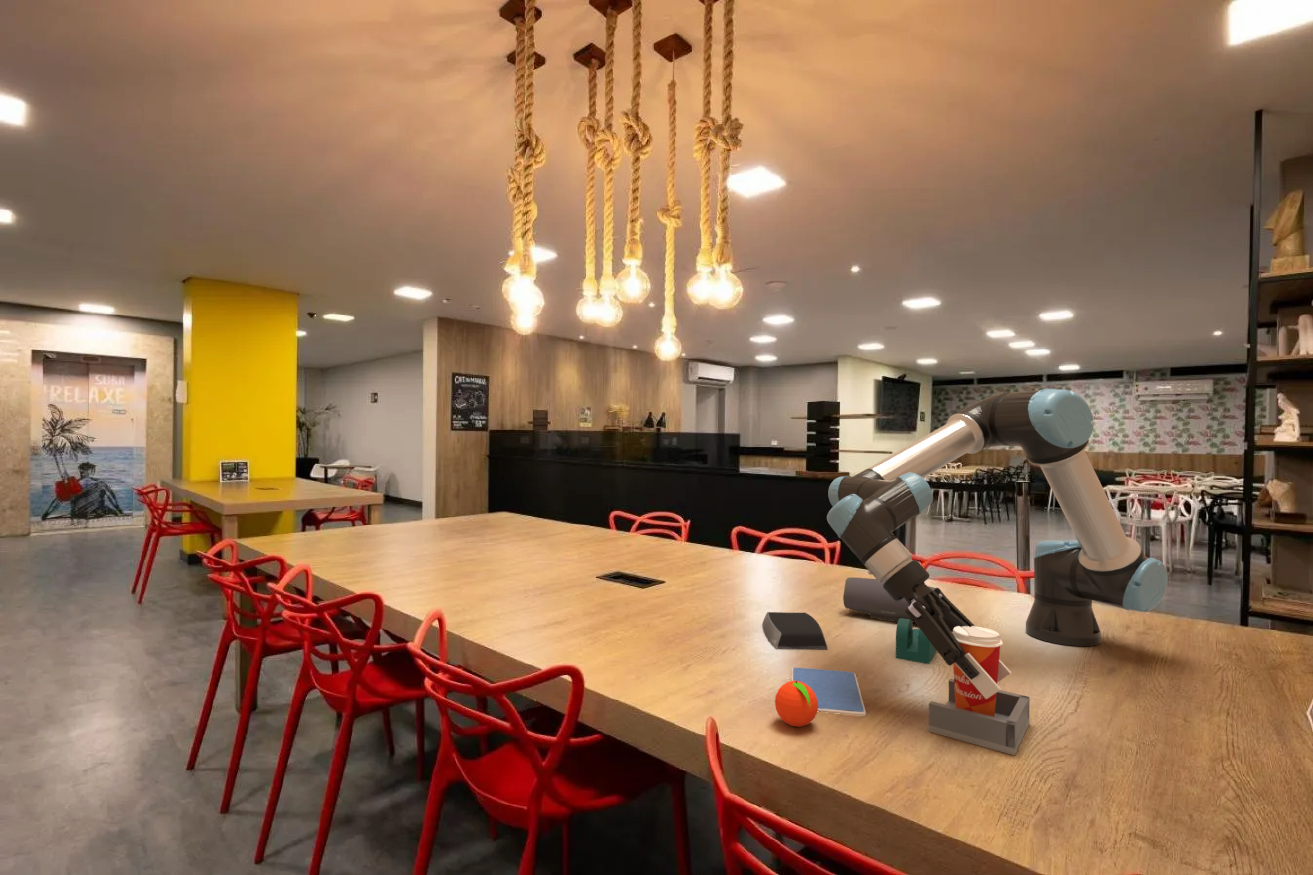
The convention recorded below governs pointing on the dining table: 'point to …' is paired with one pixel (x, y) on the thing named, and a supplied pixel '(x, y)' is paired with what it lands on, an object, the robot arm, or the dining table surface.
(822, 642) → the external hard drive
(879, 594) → the bluetooth speaker
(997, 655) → the paper cup
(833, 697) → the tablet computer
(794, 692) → the clementine
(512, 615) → the dining table surface
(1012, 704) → the cup holder
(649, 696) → the dining table surface
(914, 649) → the bracket
